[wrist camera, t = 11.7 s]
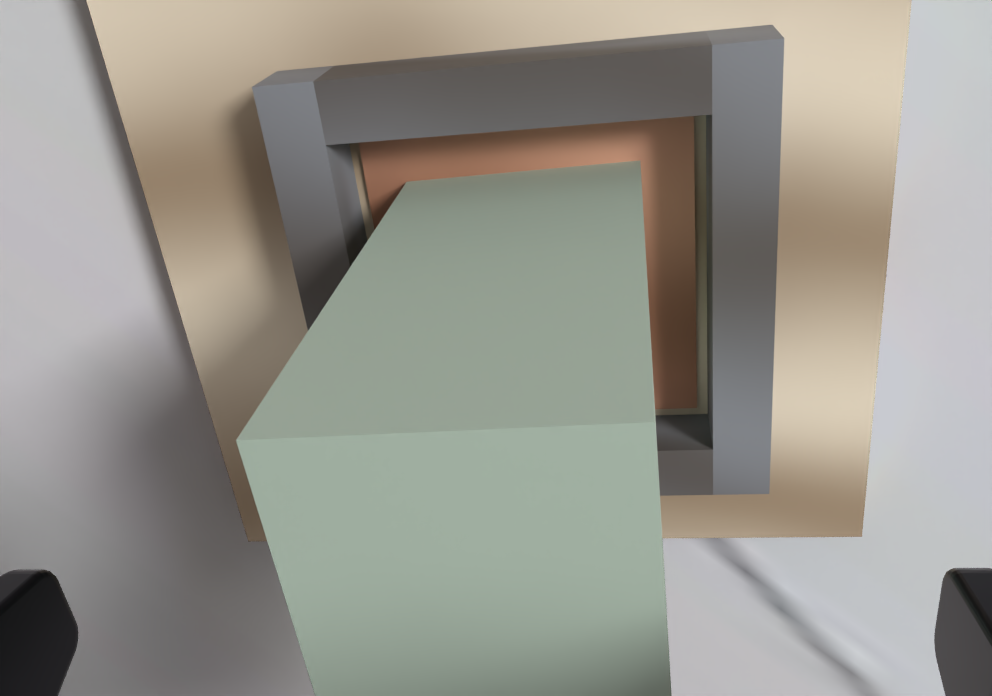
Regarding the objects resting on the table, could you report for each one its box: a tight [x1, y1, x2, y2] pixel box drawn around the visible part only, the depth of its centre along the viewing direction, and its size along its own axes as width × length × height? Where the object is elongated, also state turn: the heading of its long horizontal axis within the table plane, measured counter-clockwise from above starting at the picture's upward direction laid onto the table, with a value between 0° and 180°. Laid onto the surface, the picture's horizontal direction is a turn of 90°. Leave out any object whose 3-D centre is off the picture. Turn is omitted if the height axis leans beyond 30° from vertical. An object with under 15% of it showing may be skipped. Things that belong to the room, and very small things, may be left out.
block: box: [236, 160, 671, 696], centre depth 13 cm, size 4×4×8 cm
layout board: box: [86, 0, 911, 541], centre depth 16 cm, size 15×13×2 cm
